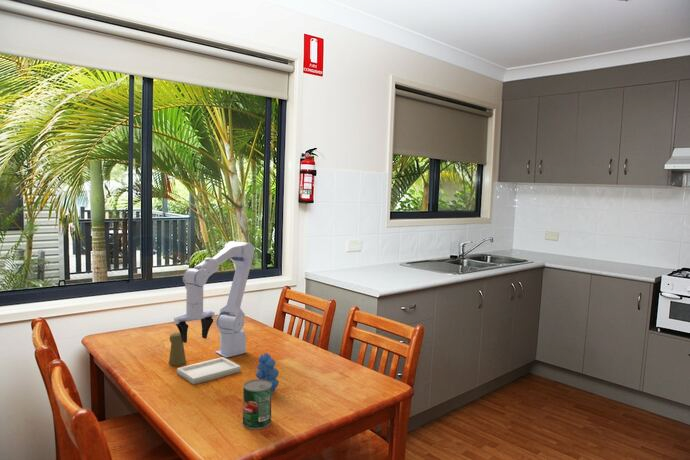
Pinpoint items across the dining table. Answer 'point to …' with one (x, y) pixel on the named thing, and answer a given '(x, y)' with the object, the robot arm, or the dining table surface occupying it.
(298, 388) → the dining table surface
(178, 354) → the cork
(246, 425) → the canned tomato
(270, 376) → the grapes
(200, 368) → the white tray
